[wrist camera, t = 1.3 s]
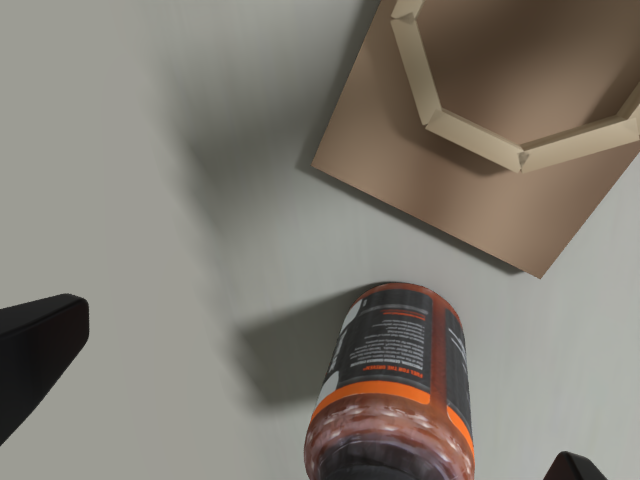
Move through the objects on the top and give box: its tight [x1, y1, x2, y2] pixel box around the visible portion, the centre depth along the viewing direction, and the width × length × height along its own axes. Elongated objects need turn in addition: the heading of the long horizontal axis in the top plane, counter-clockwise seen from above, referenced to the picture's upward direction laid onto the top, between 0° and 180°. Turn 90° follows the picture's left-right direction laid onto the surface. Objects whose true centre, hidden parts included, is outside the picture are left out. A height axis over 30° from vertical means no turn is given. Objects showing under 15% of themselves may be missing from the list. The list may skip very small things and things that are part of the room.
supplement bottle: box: [304, 283, 475, 480], centre depth 18 cm, size 6×6×11 cm
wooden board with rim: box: [311, 0, 640, 279], centre depth 16 cm, size 11×17×2 cm, turn 157°
